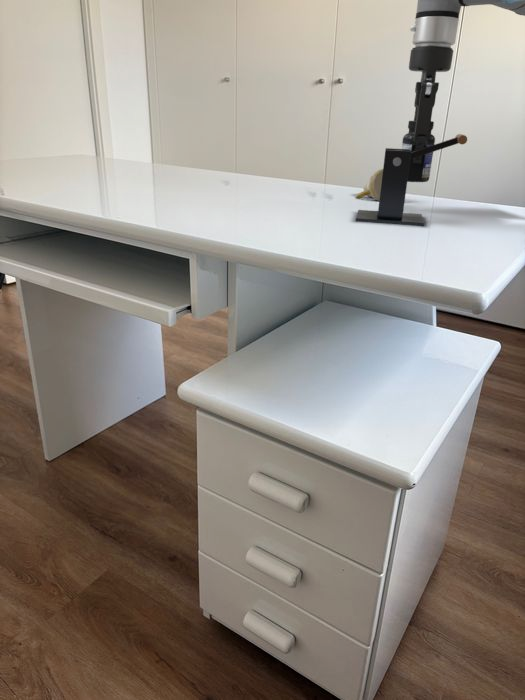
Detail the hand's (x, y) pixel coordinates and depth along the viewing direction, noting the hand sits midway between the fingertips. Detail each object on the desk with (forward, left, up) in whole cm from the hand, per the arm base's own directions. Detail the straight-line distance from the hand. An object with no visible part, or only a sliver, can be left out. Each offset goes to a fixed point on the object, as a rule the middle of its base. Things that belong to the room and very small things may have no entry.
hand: (413, 178), depth 107 cm
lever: (-1, +12, +5) cm, 13 cm away
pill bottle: (0, 0, -1) cm, 1 cm away
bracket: (+4, +12, -7) cm, 14 cm away
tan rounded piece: (+7, -15, -7) cm, 18 cm away
